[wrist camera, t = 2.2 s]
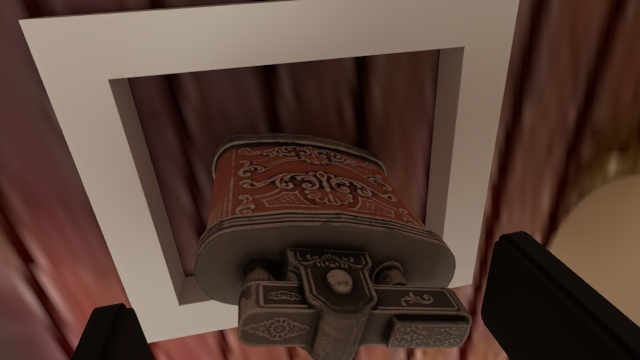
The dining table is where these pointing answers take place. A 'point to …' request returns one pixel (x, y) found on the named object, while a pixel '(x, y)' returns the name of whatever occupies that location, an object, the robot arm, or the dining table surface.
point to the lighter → (323, 251)
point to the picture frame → (252, 50)
